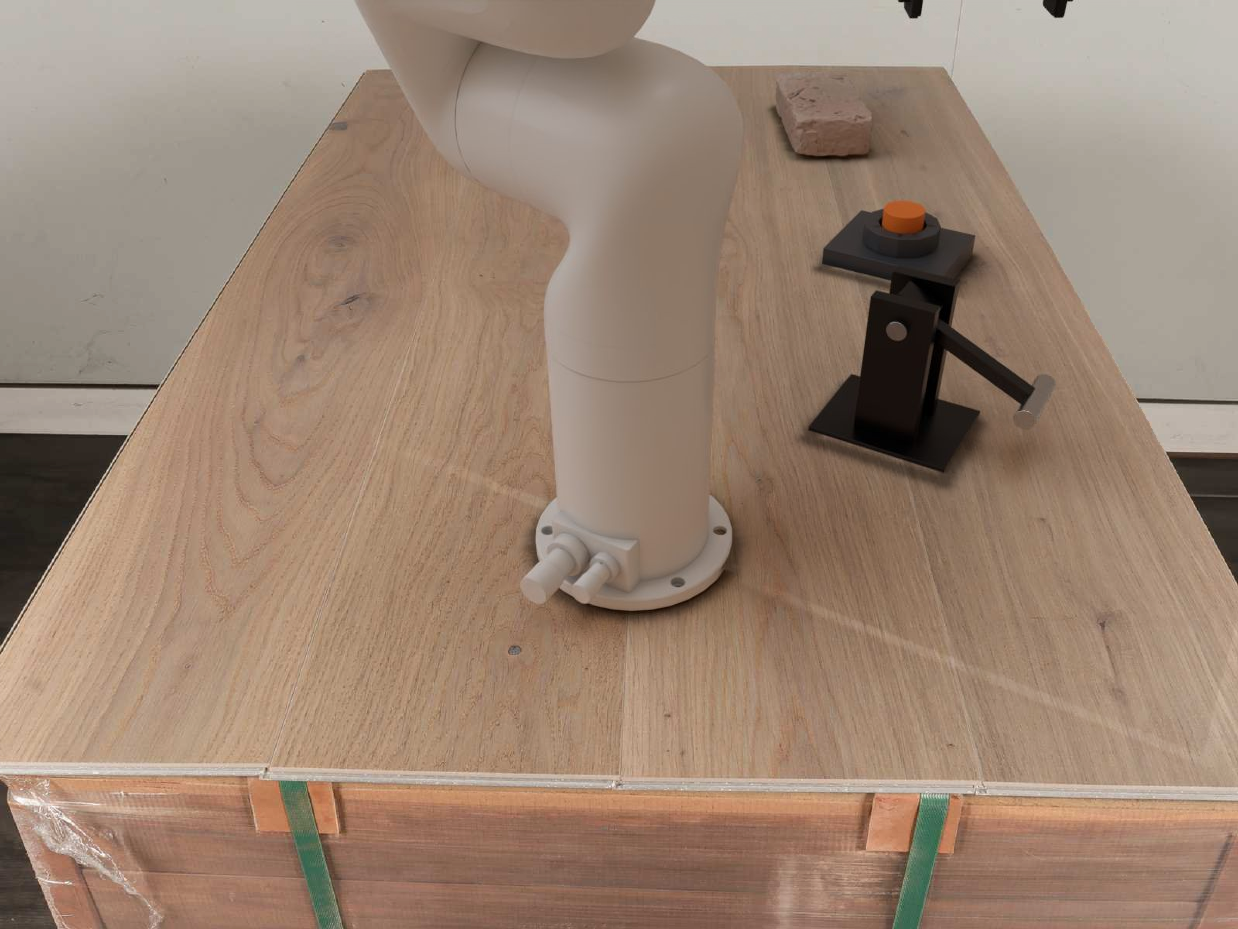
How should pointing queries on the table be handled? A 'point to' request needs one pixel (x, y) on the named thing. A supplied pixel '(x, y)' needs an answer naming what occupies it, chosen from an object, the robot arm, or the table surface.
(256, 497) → the table surface
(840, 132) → the brick
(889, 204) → the button
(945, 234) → the button box
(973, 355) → the lever
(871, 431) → the bracket
